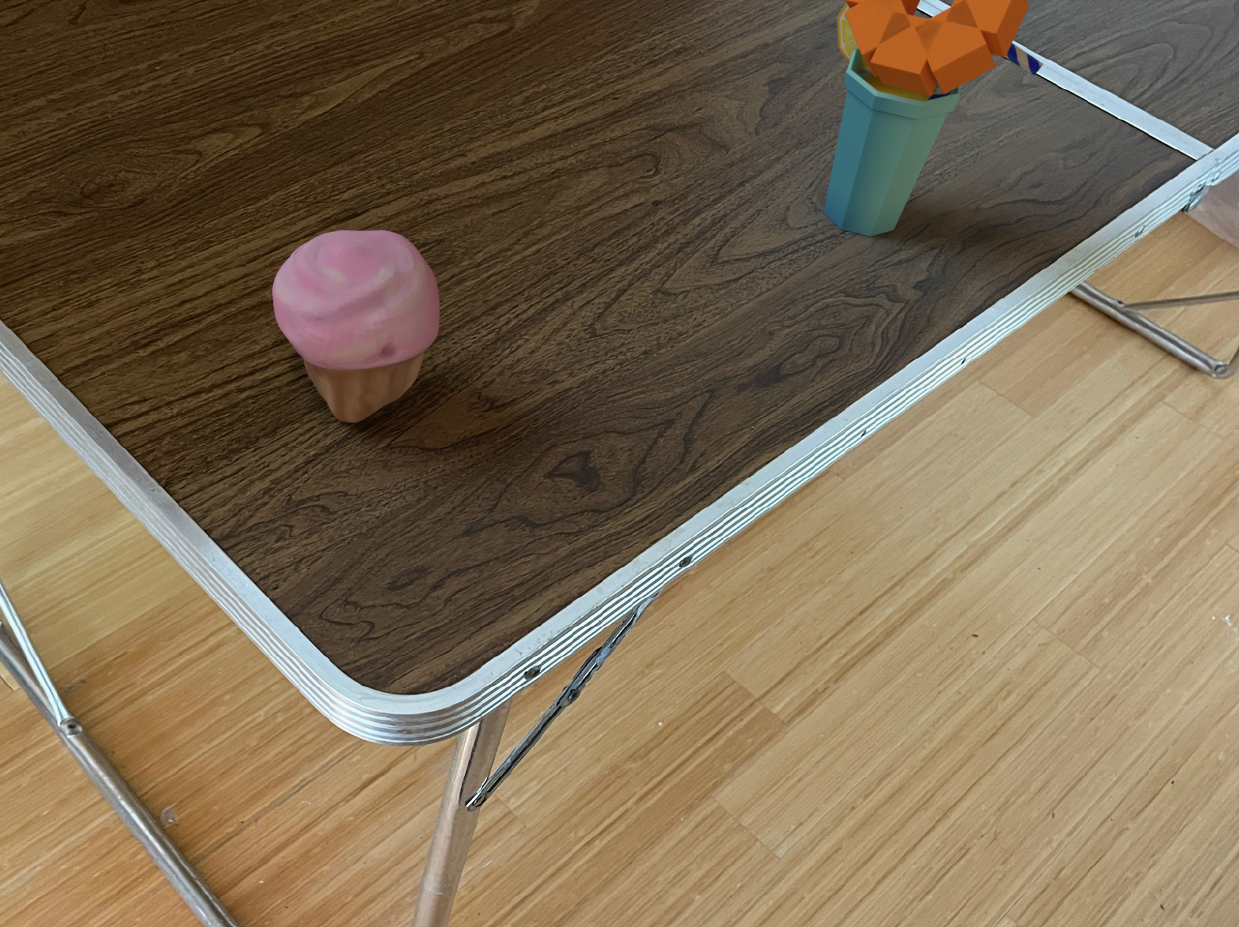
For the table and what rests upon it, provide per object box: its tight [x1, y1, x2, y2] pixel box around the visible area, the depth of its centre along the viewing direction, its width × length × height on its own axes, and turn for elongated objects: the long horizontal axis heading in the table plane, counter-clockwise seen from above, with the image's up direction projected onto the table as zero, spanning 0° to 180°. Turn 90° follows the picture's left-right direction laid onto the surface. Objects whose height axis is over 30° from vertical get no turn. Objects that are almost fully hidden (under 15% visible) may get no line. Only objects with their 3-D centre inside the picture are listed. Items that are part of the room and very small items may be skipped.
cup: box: [823, 1, 1044, 237], centre depth 81 cm, size 14×8×15 cm, turn 50°
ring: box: [844, 0, 1030, 96], centre depth 74 cm, size 10×10×3 cm
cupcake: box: [271, 229, 441, 424], centre depth 67 cm, size 9×9×10 cm
